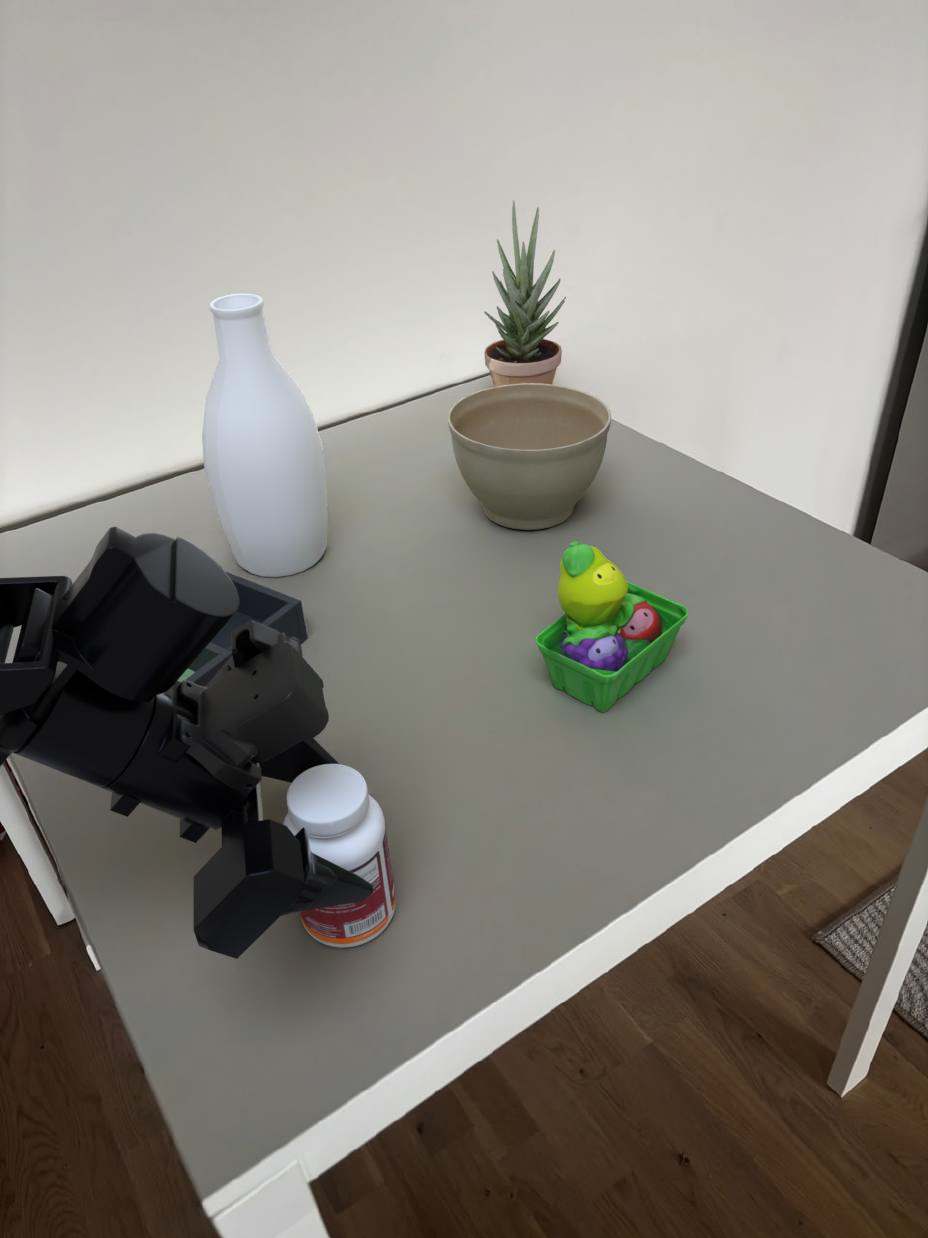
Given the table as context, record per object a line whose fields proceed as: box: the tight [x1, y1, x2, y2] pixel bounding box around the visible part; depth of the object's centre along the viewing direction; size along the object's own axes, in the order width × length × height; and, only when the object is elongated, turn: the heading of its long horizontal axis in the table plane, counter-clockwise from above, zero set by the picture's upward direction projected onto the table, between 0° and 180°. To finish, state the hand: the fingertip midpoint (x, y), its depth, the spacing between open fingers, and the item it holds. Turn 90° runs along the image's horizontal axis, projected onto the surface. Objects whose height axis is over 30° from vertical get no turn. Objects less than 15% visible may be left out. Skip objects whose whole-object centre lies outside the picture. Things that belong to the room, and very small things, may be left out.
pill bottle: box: [282, 763, 397, 949], centre depth 59 cm, size 6×6×11 cm
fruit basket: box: [534, 541, 690, 713], centre depth 77 cm, size 11×9×11 cm
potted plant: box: [483, 199, 567, 387], centre depth 117 cm, size 10×10×25 cm
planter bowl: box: [447, 383, 612, 531], centre depth 99 cm, size 16×16×11 cm
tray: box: [178, 571, 308, 687], centre depth 81 cm, size 17×9×4 cm, turn 146°
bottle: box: [201, 292, 329, 578], centre depth 90 cm, size 11×11×25 cm
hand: (358, 836), depth 59 cm, fingers open, 8 cm apart
